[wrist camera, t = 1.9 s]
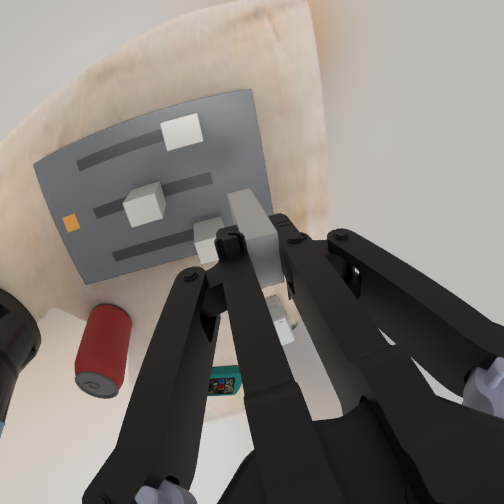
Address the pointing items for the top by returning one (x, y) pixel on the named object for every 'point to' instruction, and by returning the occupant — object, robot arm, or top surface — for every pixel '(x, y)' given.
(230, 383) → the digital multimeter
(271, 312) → the small box
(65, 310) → the top surface
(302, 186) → the top surface
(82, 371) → the beer can
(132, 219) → the handle
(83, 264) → the breaker panel
